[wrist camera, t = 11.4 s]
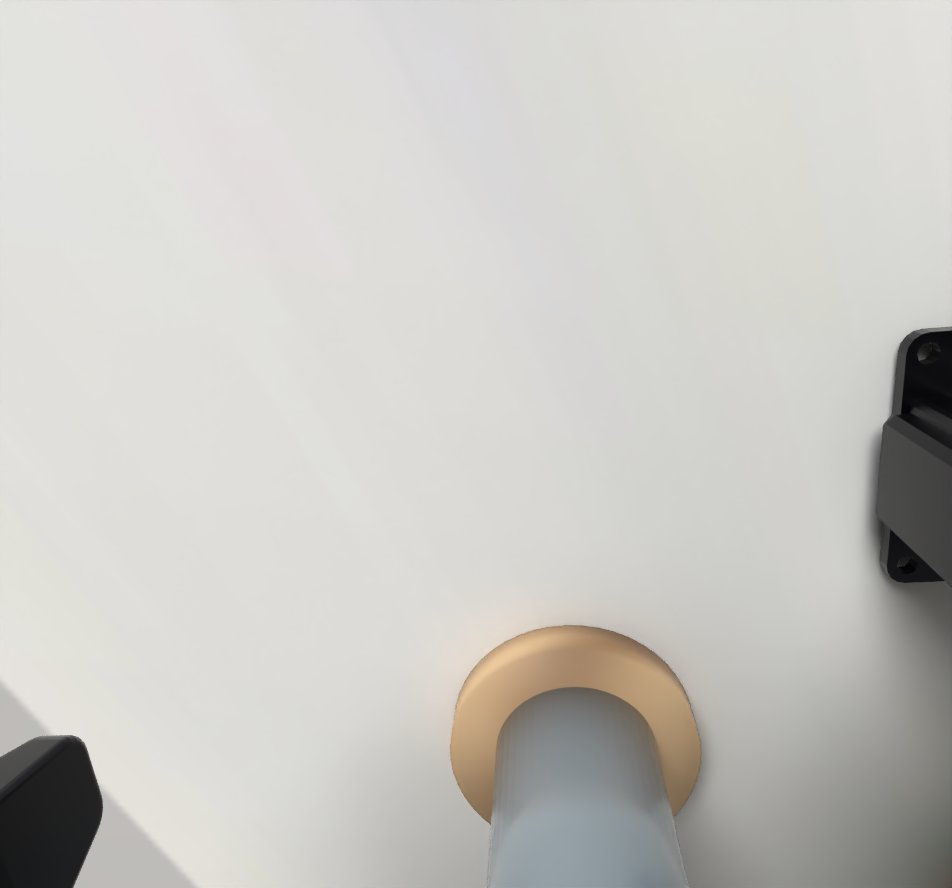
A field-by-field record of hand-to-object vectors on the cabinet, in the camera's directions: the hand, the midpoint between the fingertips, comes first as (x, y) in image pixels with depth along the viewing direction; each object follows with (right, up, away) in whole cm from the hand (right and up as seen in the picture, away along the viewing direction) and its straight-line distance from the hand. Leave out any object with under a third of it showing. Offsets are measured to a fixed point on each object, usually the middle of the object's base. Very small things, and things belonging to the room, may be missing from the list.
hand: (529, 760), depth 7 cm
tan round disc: (+2, -5, +15) cm, 16 cm away
